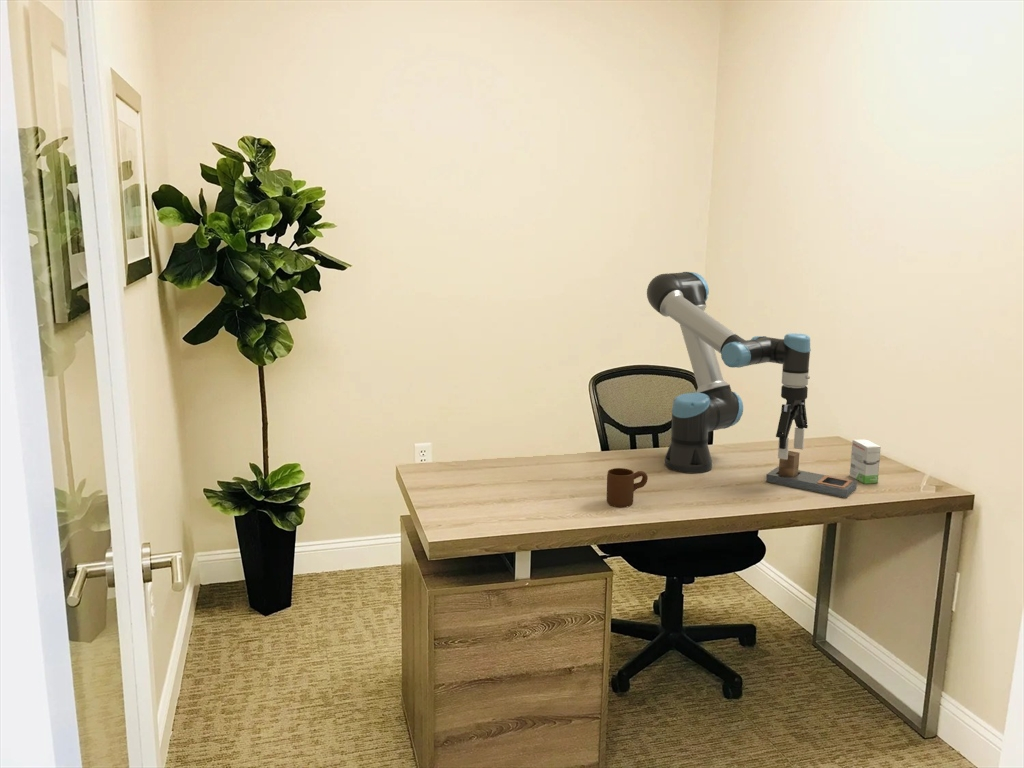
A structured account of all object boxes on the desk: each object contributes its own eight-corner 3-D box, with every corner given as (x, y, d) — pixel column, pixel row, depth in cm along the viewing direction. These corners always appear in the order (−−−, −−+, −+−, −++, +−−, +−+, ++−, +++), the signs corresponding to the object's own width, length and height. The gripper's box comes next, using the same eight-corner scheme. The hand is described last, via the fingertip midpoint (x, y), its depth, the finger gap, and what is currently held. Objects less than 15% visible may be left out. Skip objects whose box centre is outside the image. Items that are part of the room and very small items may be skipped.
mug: (641, 496, 248) (642, 465, 246) (651, 505, 241) (653, 473, 239) (602, 500, 245) (603, 468, 243) (611, 509, 238) (612, 476, 236)
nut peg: (777, 481, 262) (779, 453, 260) (783, 477, 265) (785, 450, 263) (792, 484, 259) (794, 456, 257) (797, 480, 262) (799, 452, 261)
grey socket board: (765, 481, 261) (766, 473, 261) (777, 473, 269) (778, 465, 268) (846, 498, 247) (847, 489, 246) (856, 489, 255) (857, 480, 254)
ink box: (878, 483, 260) (882, 446, 258) (863, 484, 259) (866, 446, 257) (863, 474, 268) (866, 438, 266) (848, 475, 268) (851, 439, 265)
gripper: (792, 394, 244) (788, 465, 248) (820, 380, 263) (816, 446, 267) (767, 390, 248) (763, 460, 252) (796, 377, 268) (792, 442, 272)
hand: (790, 453), depth 260 cm, fingers open, 13 cm apart
